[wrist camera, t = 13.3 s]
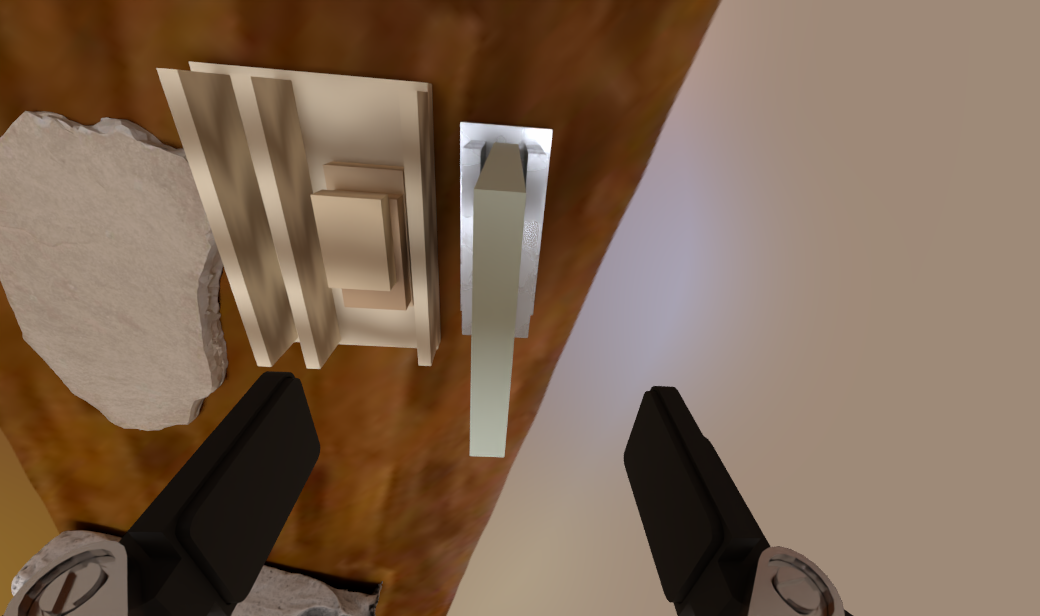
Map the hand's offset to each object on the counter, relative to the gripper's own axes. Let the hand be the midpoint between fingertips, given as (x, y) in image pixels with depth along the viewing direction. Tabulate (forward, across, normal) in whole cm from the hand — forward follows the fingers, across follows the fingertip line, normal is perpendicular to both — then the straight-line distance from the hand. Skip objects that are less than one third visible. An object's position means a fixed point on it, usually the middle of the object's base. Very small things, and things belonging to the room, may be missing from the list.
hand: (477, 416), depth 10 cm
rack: (+21, +12, +2) cm, 24 cm away
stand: (+20, 0, +1) cm, 21 cm away
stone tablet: (+21, +31, +9) cm, 39 cm away
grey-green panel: (+19, 0, +1) cm, 19 cm away
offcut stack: (+19, +8, +2) cm, 21 cm away
